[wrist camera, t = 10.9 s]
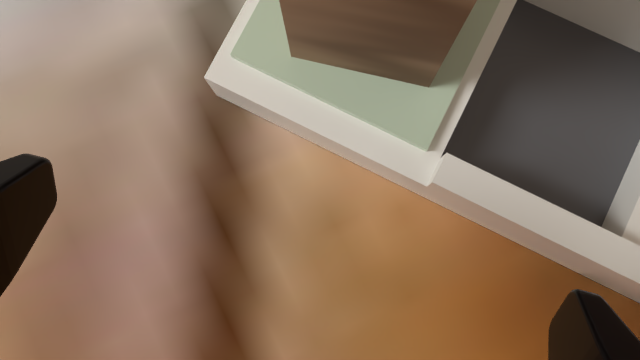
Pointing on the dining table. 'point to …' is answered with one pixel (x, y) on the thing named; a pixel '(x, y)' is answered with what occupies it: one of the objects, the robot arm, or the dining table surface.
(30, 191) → the robot arm
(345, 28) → the walnut block
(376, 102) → the box
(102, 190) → the dining table surface
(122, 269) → the dining table surface
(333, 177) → the dining table surface
